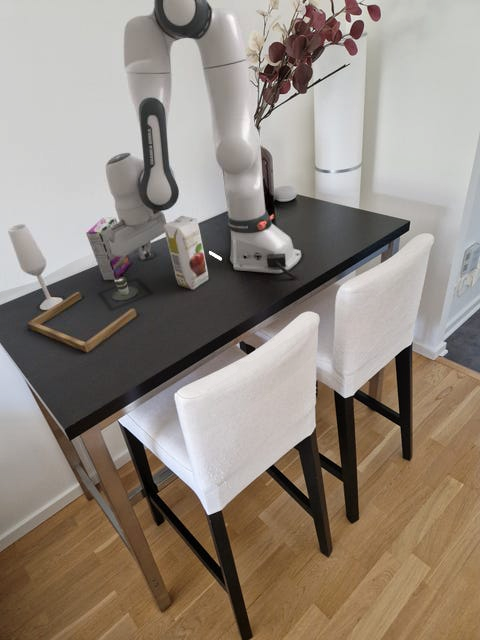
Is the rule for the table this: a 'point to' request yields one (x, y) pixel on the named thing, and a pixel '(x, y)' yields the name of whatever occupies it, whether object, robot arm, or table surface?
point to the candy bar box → (106, 250)
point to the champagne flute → (31, 259)
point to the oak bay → (71, 341)
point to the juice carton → (186, 251)
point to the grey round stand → (123, 290)
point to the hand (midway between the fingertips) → (145, 257)
